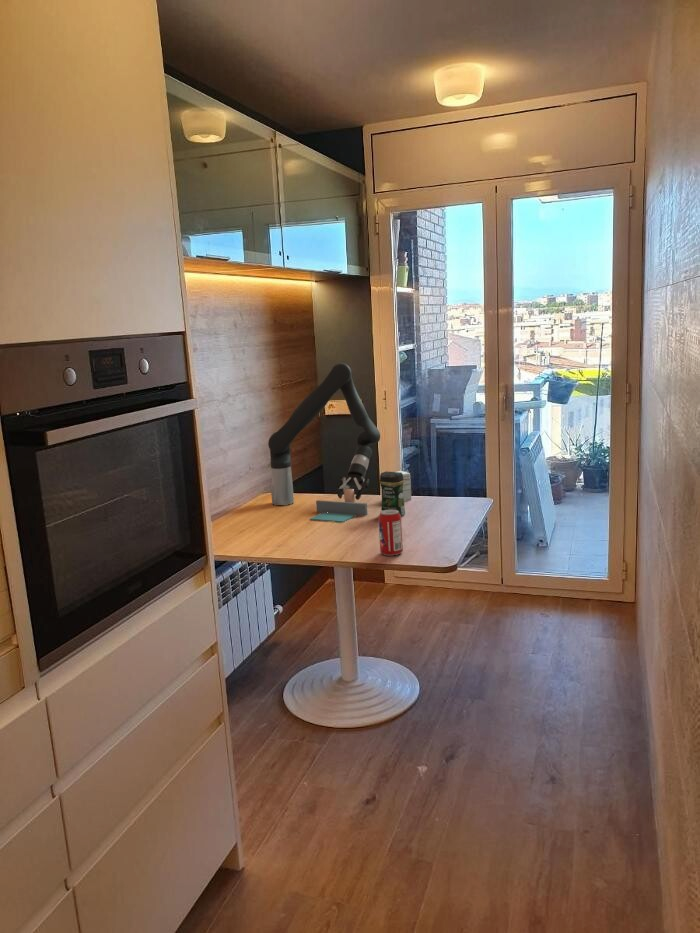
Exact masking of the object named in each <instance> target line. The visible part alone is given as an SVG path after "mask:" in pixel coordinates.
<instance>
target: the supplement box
mask: <svg viewBox="0 0 700 933" xmlns="http://www.w3.org/2000/svg"><path fill="white" fill-rule="evenodd" d="M396 472H400V473H402V474H403V479H404V483H403V498H404V501H405V502H408V501H409V500H410V501H412V486H411V485H412V484H411V483H412V482H411V473H410V472H407V471H403V470H398V471H396Z"/></svg>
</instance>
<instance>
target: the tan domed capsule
mask: <svg viewBox="0 0 700 933" xmlns="http://www.w3.org/2000/svg"><path fill="white" fill-rule="evenodd" d="M343 492H344V493H343V497H344V498H343V500H344V501H343V502H353V503H356V500H355V499H356V498H355V496H356V495H355V488H354V487H352V488H351V487H349V488H346V489H344V491H343Z"/></svg>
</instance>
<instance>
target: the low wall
mask: <svg viewBox="0 0 700 933" xmlns="http://www.w3.org/2000/svg"><path fill="white" fill-rule="evenodd" d="M315 504H316V507H315V508H316V513H320V512H328V513H341V514H355V515H356V516H361V515H363V516H365V517H367V516H368V503H367V502H366V503H365V502H355V503H353V502H345V501H337V500H336V501H335V500H319V499H317V500H316V502H315ZM363 516H362V517H363Z"/></svg>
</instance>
